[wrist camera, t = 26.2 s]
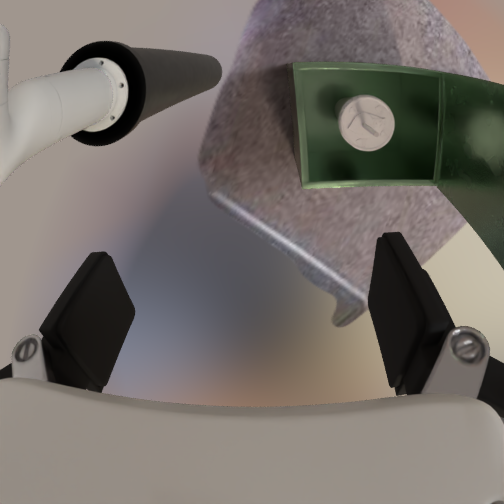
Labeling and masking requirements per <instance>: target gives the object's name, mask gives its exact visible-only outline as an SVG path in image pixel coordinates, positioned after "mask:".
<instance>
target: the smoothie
mask: <svg viewBox="0 0 504 504" xmlns="http://www.w3.org/2000/svg"><path fill="white" fill-rule="evenodd" d="M335 115H336V117H337V119H338V125H339V130H340V132H341V135H342V136H343V138H344V139H345V141H347V142H348V143H349V144H350V145H351V146H353V147H354V148H356V149H359V150H362V151H374V150H377V149H380V148H382V147H383V146H385V145H386V144H387V143H388V142H389V140H390V139H391V137H392V135H393V132H394V127H395V121H394V116H393V113H392V111H391V109H390V108H389V107H388V105H387V104H386V103H384V102H383V101H382V100H380V99H379V98H377V97H375V96H371V95H358V96H355V97H346V98H342V99H340V100H339V101H338V102H337V103H336V105H335Z"/></svg>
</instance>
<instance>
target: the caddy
mask: <svg viewBox="0 0 504 504" xmlns="http://www.w3.org/2000/svg"><path fill="white" fill-rule="evenodd" d="M286 66H287V75H288V85H289V95H290V106H291V117H292V129H293V142H294V156H295V161H296V165H297V169H298V173H299V178H300V182H301V186H302V189H313V188H334V187H362V186H437V184H438V177H439V169H440V160H441V150H442V138H443V123H444V72H440V71H435V70H428V69H422V68H415V67H407V66H398V65H388V64H376V63H360V62H293V63H289V64H286ZM358 95H371V96H375V97H377V98H379V99H380V100H382V101H383V102H384V103H386V104H387V105H388V107H389V108H390V109H391V111H392V113H393V116H394V121H395V127H394V132H393V135H392V137H391V139H390V140H389V142H388V143H387V144H386V145H385V146H383V147H382V148H380V149H377V150H374V151H362V150H359V149H356V148H354V147H353V146H351V145H350V144H349V143H348V142H347V141H345V139H344V138H343V136H342V135H341V132H340V130H339V125H338V119H337V117H336V115H335V105H336V103H337V102H338V101H339V100H340V99H342V98H346V97H355V96H358Z"/></svg>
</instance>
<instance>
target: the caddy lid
mask: <svg viewBox="0 0 504 504" xmlns="http://www.w3.org/2000/svg"><path fill="white" fill-rule="evenodd" d="M437 188H438V189H439V190H440V191H441V192H442V193H443V194H444V195H445V197H446V198H447V199H448V200H449V201H450V202H451V203H452V204H453V206H454V207H455V208H456V209H457V210H458V211H459V212H460V214H461V215H462V216H463V217H464V218H465V219H466V221H467V222H468V223H469V224H470V226H471V227H472V228H473V229H474V230H475V232H476V233H477V234H478V235H479V237H480V238H481V239H482V240H483V242H484V243H485V245H486V246H487V247H488V249H489V250H490V251H491V253H492V254H493V255H494V257H495V258H496V259H497V261H498V262H499V264H500V265H501V267H502V268H503V269H504V85H502V84H499V83H495V82H491V81H487V80H482V79H478V78H473V77H468V76H463V75H458V74H452V73H446V72H444V123H443V138H442V150H441V160H440V169H439V177H438V184H437Z"/></svg>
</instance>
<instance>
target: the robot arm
mask: <svg viewBox="0 0 504 504" xmlns="http://www.w3.org/2000/svg"><path fill="white" fill-rule="evenodd" d="M9 52H10V36H9V32H8V30H7V28H6V27H5V26H4V25H2V24H0V186H1V185H2V184H3V183H4V182H5V181H6V180H7V178H8V177H9V176H10V175H11V174H12V173H13V172H14V171H15V170H16V169H17V168H18V167H19V166H20V165H22V164H23V163H24V162H26V161H27V160H28V159H30V158H31V157H33V156H35V155H36V154H38V153H39V152H41V151H43V150H45V149H46V148H48V147H50V146H52V145H53V144H55V143H57V142H59V141H61V140H63V139H64V138H67V137H68V136H70V135H72V134H74V133H76V132H78V131H80V130H85V131H90V132H96V131H101V130H103V129H106V128H108V127H110V126H111V125H113V124H114V123H115V122H116V121H117V120H118V119H119V118H120V117H121V115H122V114H123V112H124V110H125V108H126V105H127V102H128V97H129V86H128V81H127V78H126V75H125V73H124V71H123V70H122V68H121V67H120V66H119V65H118V64H117V63H115V62H114V61H112V60H109V59H107V58H92V59H88V60H86V61H83V62H82V63H80V64H79V65H77V66H76V67H75V68H74V69H73V70H71V71H65V72H59V73H54V74H49V75H45V76H40V77H36V78H31V79H28V80H25V81H22V82H20V83H18V84H16V85H15V86H13V87H12V88H11V89H9V90H8V69H9ZM103 62H104V64H103ZM123 84H124V86H123ZM114 117H115V118H114ZM368 307H369V311H370V314H371V318H372V321H373V325H374V328H375V331H376V335H377V339H378V343H379V346H380V350H381V354H382V358H383V362H384V366H385V370H386V374H387V378H388V382H389V386H390V387H391V388H393V387H395V392H396V395H397V397H389V398H380V399H373V400H365V401H355V402H346V403H333V404H321V405H308V406H307V405H306V406H285V407H228V406H206V405H190V404H179V403H167V402H159V401H150V400H142V399H136V398H128V397H122V396H116V395H110V394H104V393H102V390H103V387H104V386H106V385H107V383H108V381H109V378H110V375H111V372H112V370H113V367H114V365H115V363H116V360H117V357H118V355H119V352H120V350H121V348H122V345H123V343H124V340H125V338H126V335H127V333H128V331H129V328H130V326H131V324H132V321H133V319H134V316H135V308H134V305H133V303H132V301H131V299H130V298H129V295H128V293H127V291H126V289H125V286H124V284H123V282H122V280H121V278H120V275H119V273H118V271H117V269H116V266H115V264H114V262H113V259H112V257H111V256H109V255H108V254H107V253H106V252H93V253H91V254H90V255H89V256H88V257H87V258H86V260H85V261H84V263H83V264H82V265H81V267H80V268H79V269H78V271H77V272H76V274H75V275H74V277H73V278H72V279H71V281H70V282H69V284H68V285H67V287H66V288H65V289H64V291H63V292H62V294H61V295H60V297H59V298H58V300H57V301H56V303H55V304H54V306H53V308H52V309H51V311H50V312H49V314H48V316H47V317H46V319H45V320H44V322H43V324H42V325H41V327H40V329H39V331H40V332H41V334H42V335H43V338H42V340H41V339H40V337H39V336H37V335H34V334H32V335H28V336H25V337H24V338H22V339H21V340H20V341H19V342H18V343H17V344H16V346H15V347H14V349H13V352H12V363H11V364H9V365H7V366H6V367H4V368H3V369H1V370H0V504H504V363H502V362H500V361H498V360H497V359H495V358H493V357H491V356H490V347H489V343H488V341H487V340H486V338H485V336H484V335H483V334H482V333H481V332H480V331H478V330H476V329H475V328H472V327H468V326H460V327H455V325H454V323H453V321H452V319H451V317H450V315H449V313H448V310H447V309H446V306H445V305H444V303H443V301H442V299H441V297H440V295H439V293H438V291H437V289H436V287H435V285H434V284H433V282H432V280H431V278H430V277H429V275H428V273H427V272H426V271H425V270H424V269H422V268H421V266H420V264H419V263H418V261H417V259H416V257H415V256H414V254H413V252H412V250H411V249H410V247H409V245H408V244H407V242H406V240H405V239H404V237H403V236H402V234H401V233H400V232H388V233H383V235H382V237H379V238H378V239H377V243H376V251H375V258H374V265H373V271H372V278H371V284H370V290H369V295H368ZM86 389H88V390H86ZM404 394H407V395H405V396H398V395H404Z"/></svg>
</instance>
